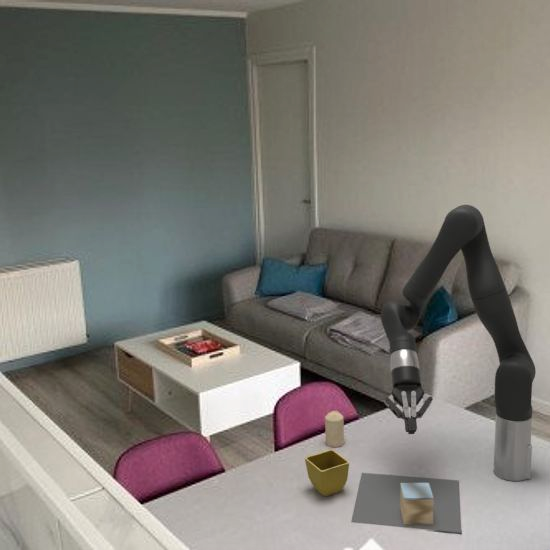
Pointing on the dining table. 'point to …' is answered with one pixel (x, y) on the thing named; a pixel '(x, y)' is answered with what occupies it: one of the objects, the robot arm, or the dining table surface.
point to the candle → (334, 429)
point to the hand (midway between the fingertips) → (411, 433)
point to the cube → (416, 503)
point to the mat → (386, 502)
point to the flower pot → (327, 472)
